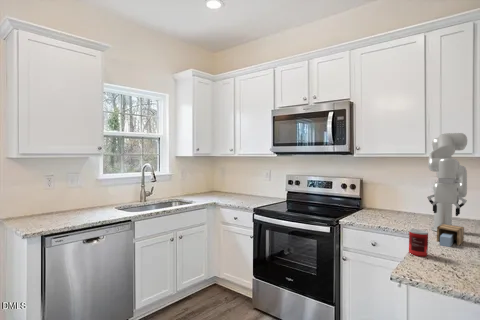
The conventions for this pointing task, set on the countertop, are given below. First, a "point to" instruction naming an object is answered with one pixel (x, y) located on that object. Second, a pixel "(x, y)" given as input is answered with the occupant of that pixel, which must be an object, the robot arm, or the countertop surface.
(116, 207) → the countertop surface
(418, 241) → the canned food
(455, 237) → the cubby
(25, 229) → the countertop surface
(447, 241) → the bar
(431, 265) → the countertop surface
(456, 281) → the countertop surface
